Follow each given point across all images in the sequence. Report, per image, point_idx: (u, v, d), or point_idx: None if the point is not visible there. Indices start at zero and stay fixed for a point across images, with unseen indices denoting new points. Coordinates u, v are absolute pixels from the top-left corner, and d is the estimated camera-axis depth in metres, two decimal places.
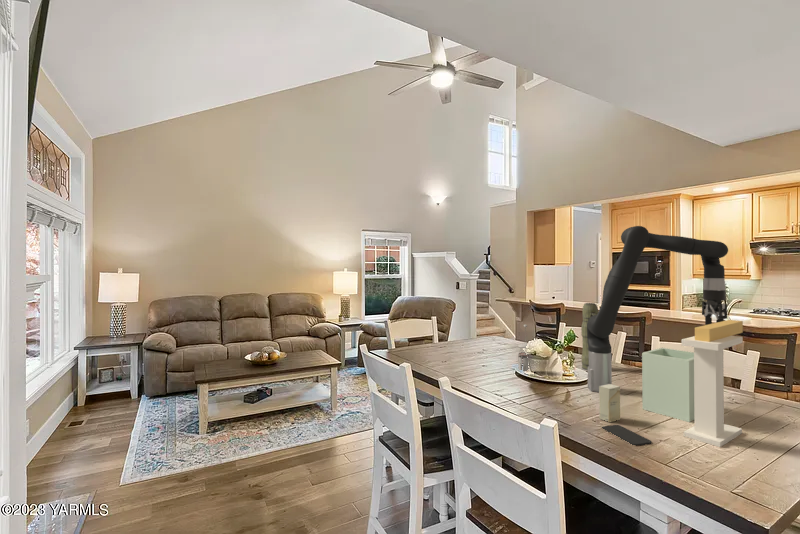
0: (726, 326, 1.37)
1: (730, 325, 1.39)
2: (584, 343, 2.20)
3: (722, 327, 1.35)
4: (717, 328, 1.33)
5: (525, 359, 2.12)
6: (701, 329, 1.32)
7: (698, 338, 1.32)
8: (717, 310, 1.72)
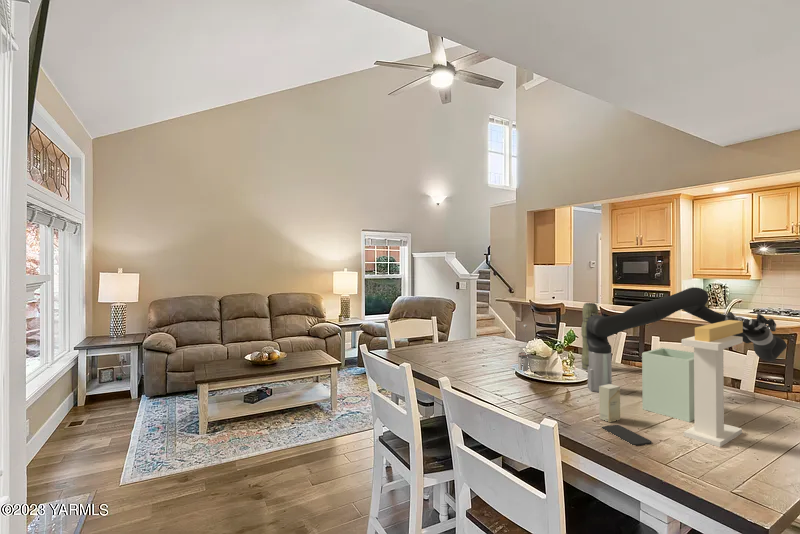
0: (726, 326, 1.37)
1: (730, 325, 1.39)
2: (584, 343, 2.20)
3: (722, 327, 1.35)
4: (717, 328, 1.33)
5: (525, 359, 2.12)
6: (701, 329, 1.32)
7: (698, 338, 1.32)
8: None
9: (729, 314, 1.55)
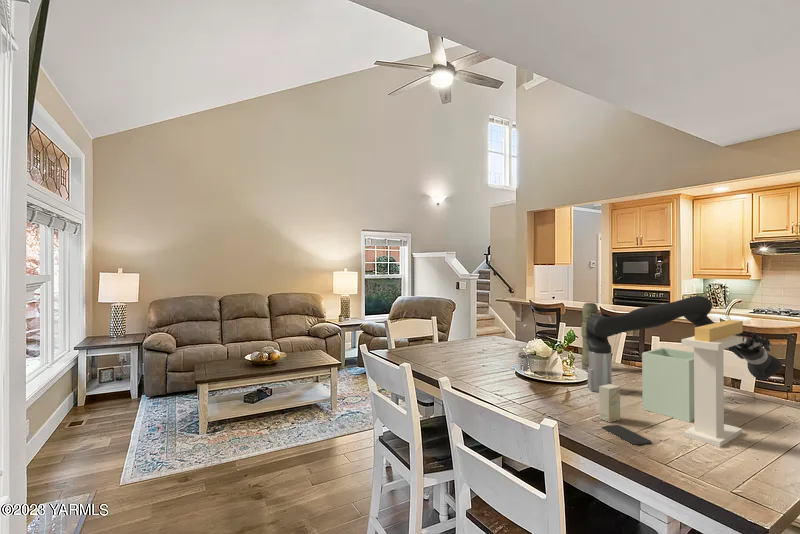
0: (726, 326, 1.37)
1: (730, 325, 1.39)
2: (584, 343, 2.20)
3: (722, 327, 1.35)
4: (717, 328, 1.33)
5: (525, 359, 2.12)
6: (701, 329, 1.32)
7: (698, 338, 1.32)
8: None
9: None
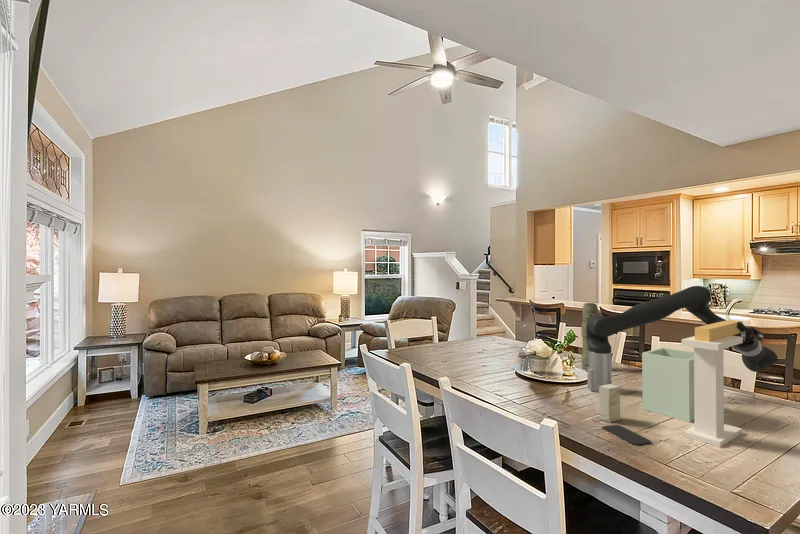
0: (726, 326, 1.37)
1: (730, 325, 1.39)
2: (584, 343, 2.20)
3: (722, 327, 1.35)
4: (717, 328, 1.33)
5: (525, 359, 2.12)
6: (701, 329, 1.32)
7: (698, 338, 1.32)
8: None
9: None
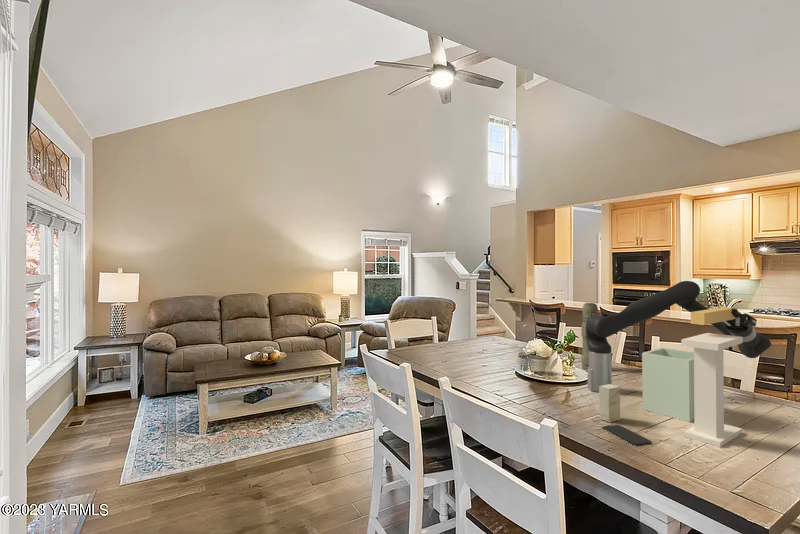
0: (721, 311, 1.46)
1: (725, 311, 1.48)
2: (584, 343, 2.20)
3: (717, 312, 1.45)
4: (712, 313, 1.42)
5: (525, 359, 2.12)
6: (696, 313, 1.41)
7: (694, 322, 1.42)
8: (739, 319, 1.55)
9: None
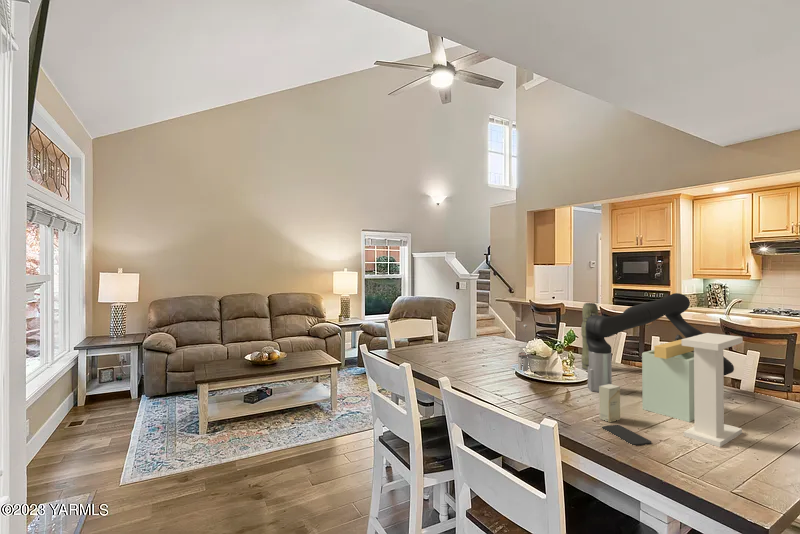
0: None
1: None
2: (584, 343, 2.20)
3: (679, 345, 1.55)
4: (674, 346, 1.53)
5: (525, 359, 2.12)
6: (659, 347, 1.52)
7: (657, 355, 1.52)
8: None
9: (677, 337, 1.68)
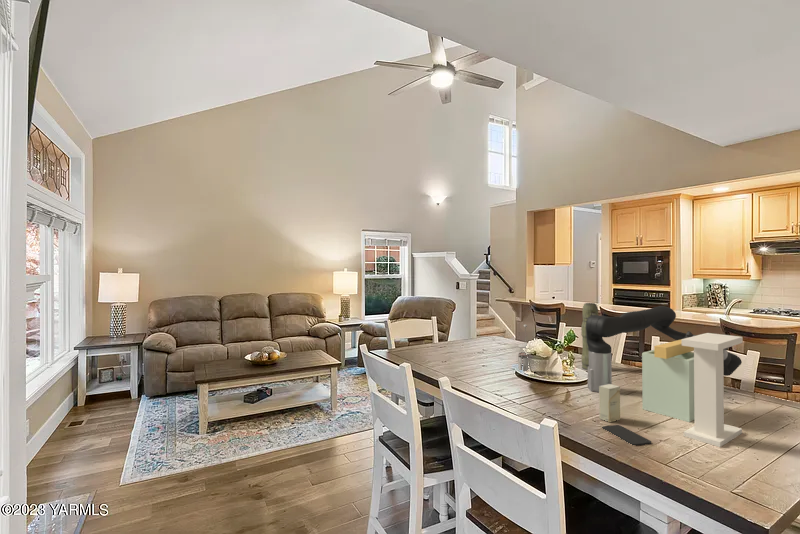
0: None
1: None
2: (584, 343, 2.20)
3: (679, 345, 1.55)
4: (674, 346, 1.53)
5: (525, 359, 2.12)
6: (659, 347, 1.52)
7: (657, 355, 1.52)
8: None
9: (688, 333, 1.73)
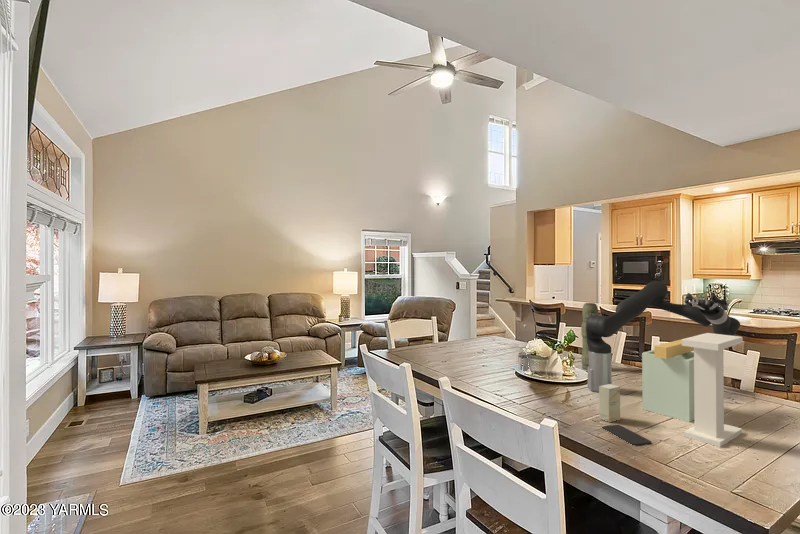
0: None
1: None
2: (584, 343, 2.20)
3: (679, 345, 1.55)
4: (674, 346, 1.53)
5: (525, 359, 2.12)
6: (659, 347, 1.52)
7: (657, 355, 1.52)
8: None
9: (688, 295, 1.73)
